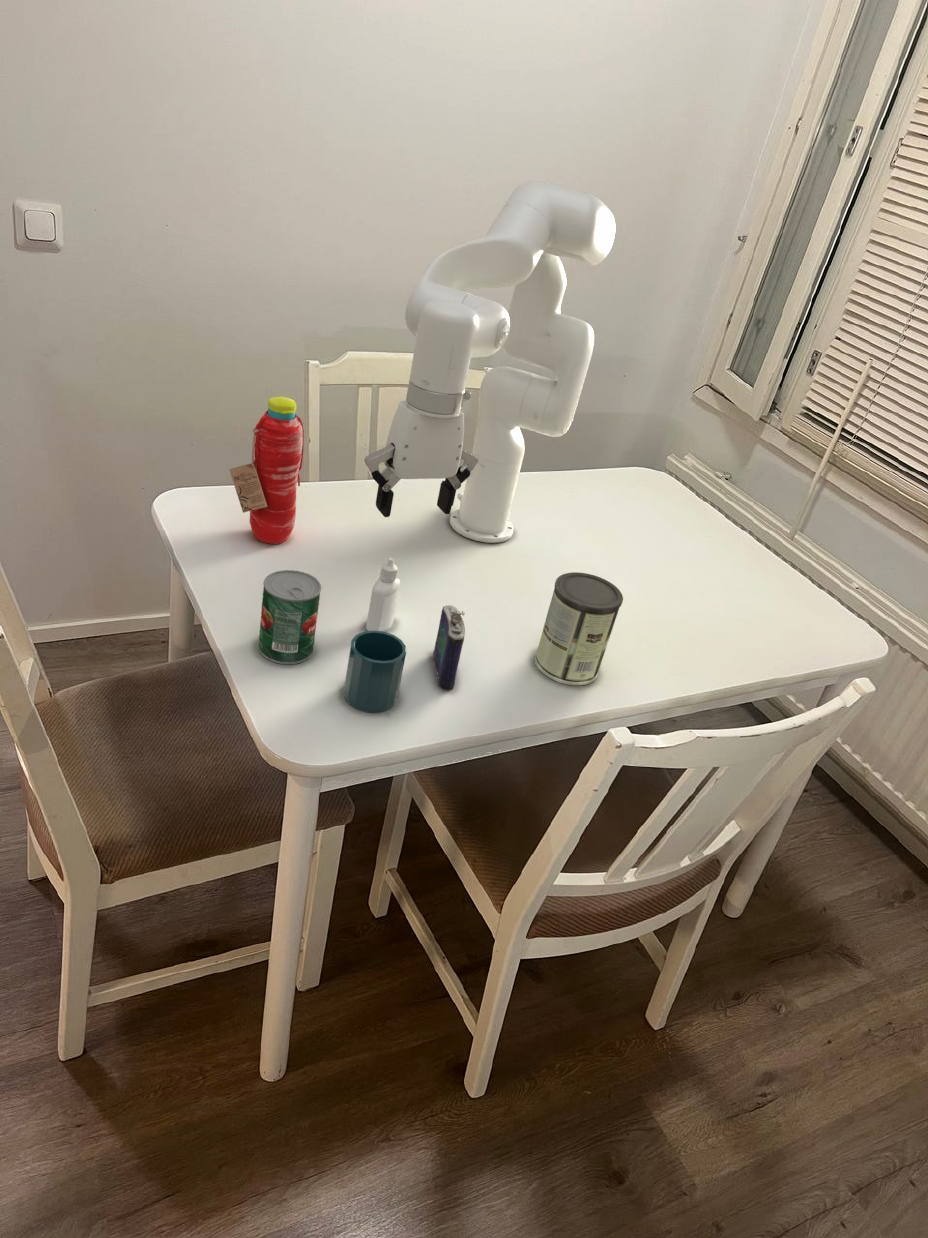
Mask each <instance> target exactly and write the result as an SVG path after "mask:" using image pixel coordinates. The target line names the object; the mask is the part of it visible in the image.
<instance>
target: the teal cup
mask: <svg viewBox="0 0 928 1238" xmlns="http://www.w3.org/2000/svg"><path fill="white" fill-rule="evenodd" d="M406 656H407V646H406V644H405V643H404V642H403V640H402V639H401V638H399V637H397V636H396V635H394V634H392V633H390V632H387V631H385V632H383V631H375V630H372V631H368V630H365V631H361V632H359V633H356V634H355V635H354V637H352V639H351V640H350V645H349V652H348V658H347V659H348V660H347V665H346V666H347V667H346V673H345V680H344V685H343V697H344V700H345V701H346V702H347V704H348V705H349V706H351V707H352V708H353V709H356V710H357V711H360V712H364V713H370V714H377V713H378V714H379V713H385V712H387V711H389V710H391V709H392V708H393V707H394V706H395V705H396V704H397V700H398V698H399V692H400V687H401V681H402V677H403V671H404V666H405V661H406Z"/></svg>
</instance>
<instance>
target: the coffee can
mask: <svg viewBox="0 0 928 1238" xmlns="http://www.w3.org/2000/svg"><path fill="white" fill-rule="evenodd" d="M623 602H624V596H623V594H622V592H621V590H620V588H618V587H617V586H616V585H614V584H613V583H612V582H610V581H608V580H607V579H605V578H602V577H601V576H598V575H594V574H590V573H586V572H576V571H575V572H573V571H572V572H567V573H563V574H561V575H559V576H558V577H557V578H556V579H555V582H554V589H553V592H552V595H551V599H550V603H549V605H548V610H547V614H546V617H545V621H544V625H543V628H542V632H541V635H540V639H539V641H538V642H539V643H538V646H537V650H536V653H535V655H534V663H535V666H536V668H537V669H538V670H539V671H540V672H541V673H542V674H543V675H544V676H545V677H546V678H548V679H551V680H553V681H555V682H557V683H560V684H563V685H566V686H567V685H568V686H585V685H588V684H591V683H593V682H594V681H596V679H597V678H598V675H599V671H600V667H601V664H602V661H603V658H604V657H605V656H604V655H605V652H606V650H607V647H608V644H609V640H610V638H611V634H612V632H613V629H614V625H615V622H616V620H617V616H618V614H619V610H620V608H621V607H622V604H623Z"/></svg>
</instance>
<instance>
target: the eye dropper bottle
mask: <svg viewBox="0 0 928 1238" xmlns="http://www.w3.org/2000/svg"><path fill="white" fill-rule="evenodd" d="M394 562H395V561H394V558H393V557H389V558H388V559H387V562H385V563H382V565H381V567H380V575H379V578H377V580H376V581H375V582H374V584H373V586H372V589H371V595H370V600H369V606H368V612H367V619H366V623H365V629H366V631H372V630H375V631H383V632H387V631H389V630H390V629H391V628H392V626H393V624H394V621H395V618H396V617H395V616H396V611H397V605H398V600H399V593H400V587H401V580H400V579H399V578H398V577H397V575H398V570H399V569H398V566H397V565H396V564H395V563H394Z"/></svg>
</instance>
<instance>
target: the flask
mask: <svg viewBox="0 0 928 1238" xmlns="http://www.w3.org/2000/svg"><path fill="white" fill-rule="evenodd" d="M465 614H466V612H465V611H464V610H461V611H460V610H458V608H457V607H456V606H454V605H451V604H447V605H443V606H442V609H441V614H440V620H439V625H438V630H437V636H436V639H435V643H434V648H433V652H432V661H433V662H434V671H435V672H436V673H437V674H436V677H437V686H438V687H439V688H440V689H441V690H442V691H452V690H453V689H454V688H455V685H456V679H457V671H458V668H459V664H460V663H459V662H460V660H461V659H460V658H461V654H462V649H463V645H464V642H465V635H466V634H465V632H466V629H465V628H466V627H465V623H464V619H463V617H462V616H465Z"/></svg>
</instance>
